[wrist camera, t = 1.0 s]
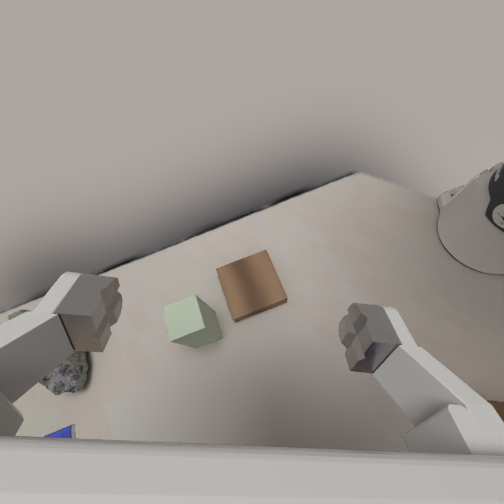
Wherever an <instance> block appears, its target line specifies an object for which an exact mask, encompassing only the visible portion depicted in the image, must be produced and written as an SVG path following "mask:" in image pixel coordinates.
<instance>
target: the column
mask: <svg viewBox="0 0 504 504" xmlns="http://www.w3.org/2000/svg"><path fill="white" fill-rule="evenodd" d="M162 308H163V313H164V317H165V321H166V326H167V330H168V335H169V339H170V342H174V343H178V344H182V345H186V346H190V347H194V348H198V347H200V346H202V345H205V344H207V343H210V342H212V341H215V340H217V339H220V338H222V333H221V330H220V327H219V324H218V321H217V317H216V314H215V311H214V310H213V309H212V308H210V307H209V306H208V305H207V304H206V303H205V302H203V301H202V300H201V299H200V298H199V297H198V296H197V295H192V296H190V297H187V298H185V299H182V300H179V301H177V302H174V303H172V304H169V305H167V306H164V307H162Z"/></svg>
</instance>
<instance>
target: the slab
mask: <svg viewBox="0 0 504 504" xmlns="http://www.w3.org/2000/svg"><path fill="white" fill-rule="evenodd" d="M216 270H217V273H218V276H219V279H220V282H221V285H222V288H223V291H224V294H225V297H226V300H227V303H228V306H229V309H230V311H231V314H232V317H233V320H234V321H235V322H238V321H240V320H243V319H245V318H248V317H250V316H253V315H255V314H258V313H261V312H263V311H266V310H268V309H271V308H273V307H276V306H278V305H281V304H283V303H286V302H287V297H286V294H285V292H284V290H283V288H282V285H281V283H280V281H279V278H278V276H277V274H276V272H275V269H274V267H273V265H272V262H271V260H270V258H269V256H268V253H267V251H266V250H264V251H261V252H259V253H256V254H254V255H251V256H248V257H246V258H243V259H241V260H238V261H235V262H233V263H230V264H228V265H225V266H222V267H220V268H217V269H216Z"/></svg>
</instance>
